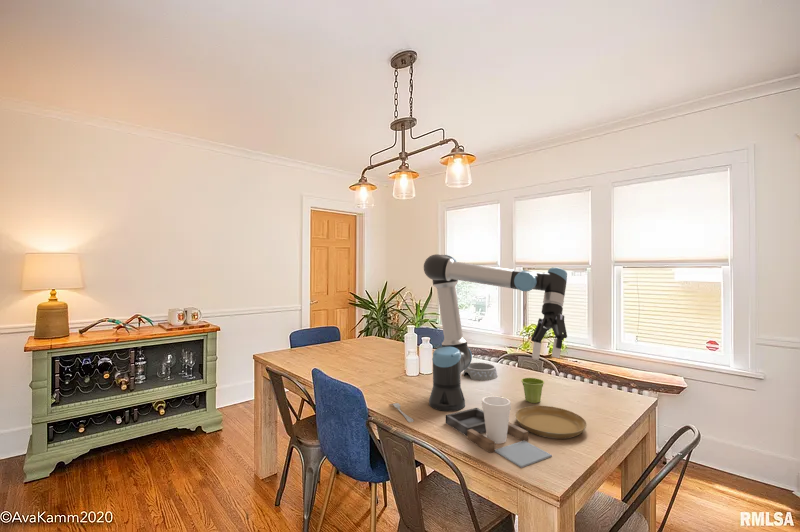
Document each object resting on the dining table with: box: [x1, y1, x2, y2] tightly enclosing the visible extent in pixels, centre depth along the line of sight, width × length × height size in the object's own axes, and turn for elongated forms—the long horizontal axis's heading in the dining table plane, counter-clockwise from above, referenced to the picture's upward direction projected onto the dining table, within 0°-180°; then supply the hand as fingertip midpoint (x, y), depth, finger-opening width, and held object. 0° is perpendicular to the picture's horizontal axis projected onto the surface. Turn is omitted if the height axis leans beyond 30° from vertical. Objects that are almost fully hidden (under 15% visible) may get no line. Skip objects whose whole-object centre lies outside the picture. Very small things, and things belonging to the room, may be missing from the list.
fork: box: [389, 402, 415, 423], centre depth 148 cm, size 3×21×3 cm, turn 24°
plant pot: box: [521, 377, 545, 404], centre depth 160 cm, size 9×9×9 cm
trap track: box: [445, 407, 529, 454], centre depth 130 cm, size 25×17×3 cm
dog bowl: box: [462, 361, 498, 381], centre depth 198 cm, size 17×18×5 cm
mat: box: [494, 440, 553, 468], centre depth 114 cm, size 11×13×1 cm
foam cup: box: [481, 395, 512, 444], centre depth 124 cm, size 10×9×13 cm
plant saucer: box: [514, 405, 588, 440], centre depth 134 cm, size 24×24×3 cm
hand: (544, 358), depth 139 cm, fingers open, 13 cm apart
